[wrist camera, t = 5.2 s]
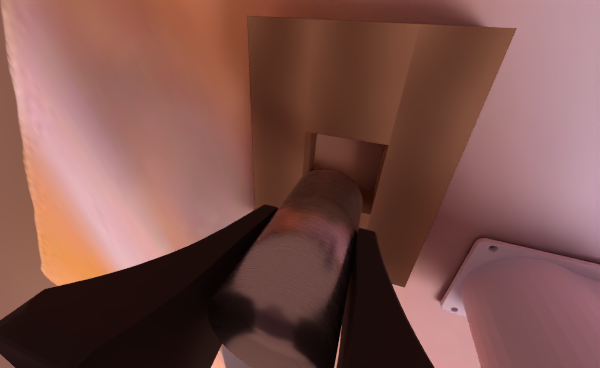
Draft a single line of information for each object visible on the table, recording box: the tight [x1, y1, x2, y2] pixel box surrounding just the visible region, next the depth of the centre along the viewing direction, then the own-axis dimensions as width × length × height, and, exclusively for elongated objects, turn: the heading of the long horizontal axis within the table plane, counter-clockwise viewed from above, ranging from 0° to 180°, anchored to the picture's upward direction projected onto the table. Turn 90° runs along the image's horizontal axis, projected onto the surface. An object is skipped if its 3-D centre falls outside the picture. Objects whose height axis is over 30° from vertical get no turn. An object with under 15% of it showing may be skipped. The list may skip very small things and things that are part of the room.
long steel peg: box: [208, 169, 363, 368], centre depth 9 cm, size 3×3×7 cm
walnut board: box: [247, 16, 517, 287], centre depth 16 cm, size 12×16×3 cm
